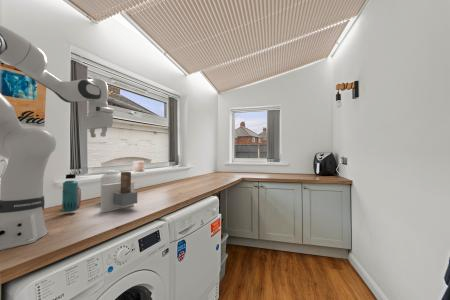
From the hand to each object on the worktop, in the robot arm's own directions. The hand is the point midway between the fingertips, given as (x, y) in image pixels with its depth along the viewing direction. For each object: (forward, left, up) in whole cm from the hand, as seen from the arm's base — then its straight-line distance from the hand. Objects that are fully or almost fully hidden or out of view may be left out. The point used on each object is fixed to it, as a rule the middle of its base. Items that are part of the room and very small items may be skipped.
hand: (98, 136), depth 110 cm
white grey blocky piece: (+11, -6, -39) cm, 41 cm away
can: (+19, +19, -39) cm, 48 cm away
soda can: (-2, +21, -39) cm, 45 cm away
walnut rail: (+11, -8, -35) cm, 37 cm away
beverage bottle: (-8, +10, -39) cm, 41 cm away
